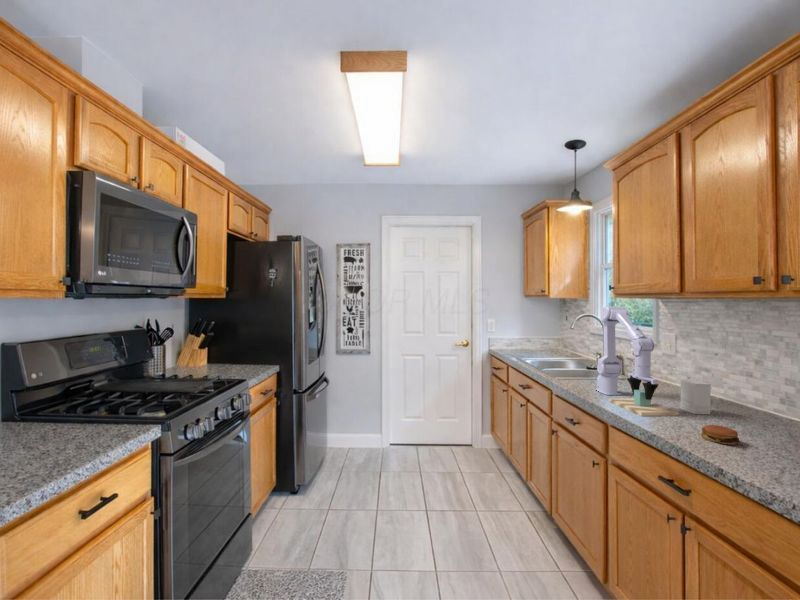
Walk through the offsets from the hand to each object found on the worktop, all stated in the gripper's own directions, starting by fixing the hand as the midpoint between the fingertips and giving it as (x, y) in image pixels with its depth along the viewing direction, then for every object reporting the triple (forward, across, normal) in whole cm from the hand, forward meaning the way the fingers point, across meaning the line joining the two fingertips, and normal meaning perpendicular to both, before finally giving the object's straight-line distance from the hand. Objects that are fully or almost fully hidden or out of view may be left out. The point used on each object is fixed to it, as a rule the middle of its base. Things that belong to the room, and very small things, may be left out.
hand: (642, 397), depth 158 cm
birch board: (+5, 0, 0) cm, 5 cm away
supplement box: (+5, +5, +20) cm, 21 cm away
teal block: (+3, 0, 0) cm, 3 cm away
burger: (+5, +36, 0) cm, 36 cm away
